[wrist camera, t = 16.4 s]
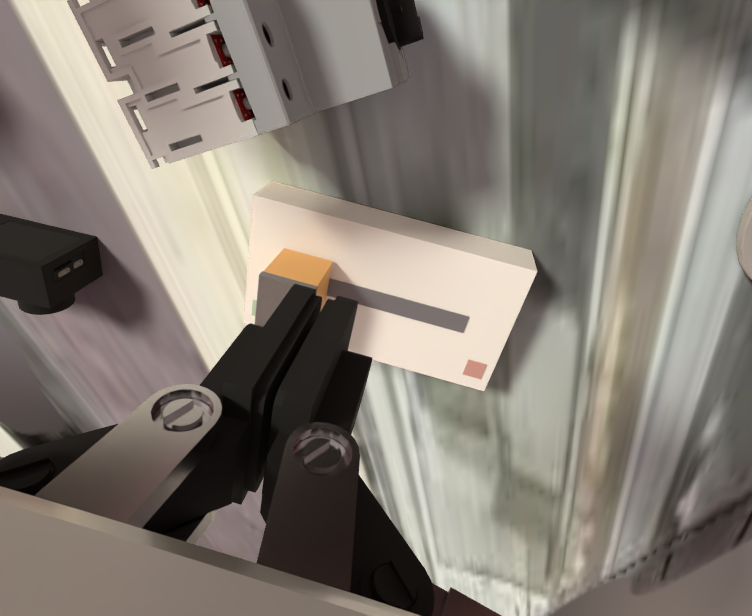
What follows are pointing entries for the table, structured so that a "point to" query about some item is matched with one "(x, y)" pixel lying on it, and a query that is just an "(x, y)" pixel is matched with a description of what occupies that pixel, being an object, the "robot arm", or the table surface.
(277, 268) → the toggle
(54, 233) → the digital camera
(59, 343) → the table surface
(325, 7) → the circuit breaker
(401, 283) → the slider base
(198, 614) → the robot arm
